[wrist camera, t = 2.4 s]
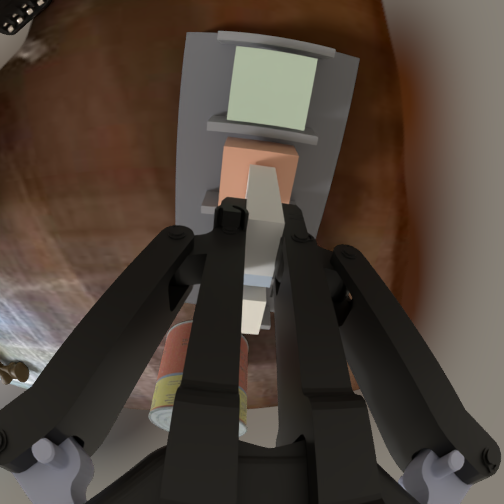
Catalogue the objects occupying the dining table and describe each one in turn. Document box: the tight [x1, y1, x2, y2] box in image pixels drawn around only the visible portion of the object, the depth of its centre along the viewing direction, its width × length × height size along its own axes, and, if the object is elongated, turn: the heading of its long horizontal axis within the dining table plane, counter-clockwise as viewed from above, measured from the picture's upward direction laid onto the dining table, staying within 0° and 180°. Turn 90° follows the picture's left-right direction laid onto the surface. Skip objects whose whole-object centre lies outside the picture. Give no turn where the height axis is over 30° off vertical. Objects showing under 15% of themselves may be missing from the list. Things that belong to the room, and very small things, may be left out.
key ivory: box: [241, 285, 266, 335], centre depth 25 cm, size 4×4×2 cm
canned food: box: [149, 320, 249, 437], centre depth 32 cm, size 11×11×12 cm
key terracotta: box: [218, 137, 299, 206], centre depth 18 cm, size 4×4×2 cm
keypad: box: [176, 31, 360, 330], centre depth 22 cm, size 12×25×5 cm, turn 172°
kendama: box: [0, 362, 29, 385], centre depth 48 cm, size 6×10×20 cm
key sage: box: [227, 46, 318, 131], centre depth 15 cm, size 4×4×2 cm
